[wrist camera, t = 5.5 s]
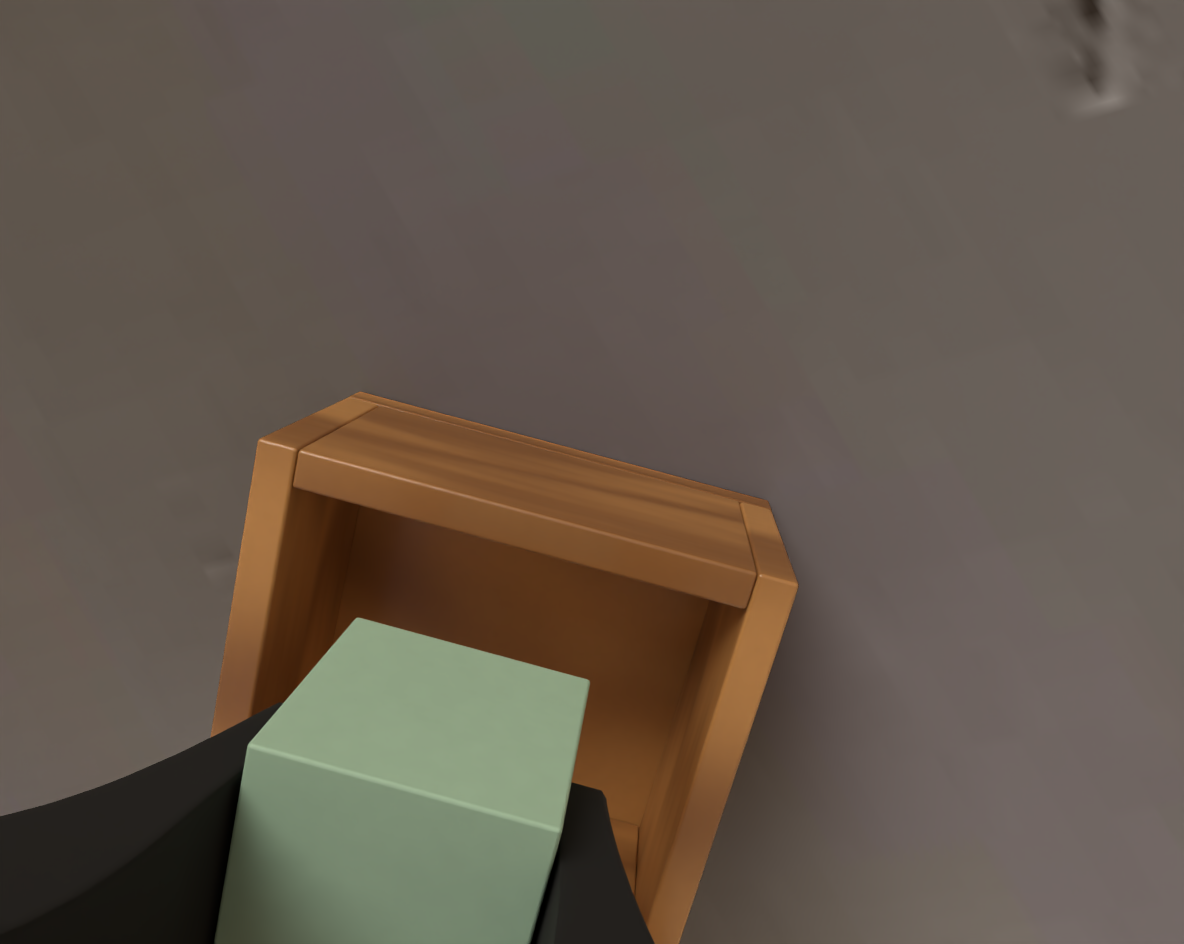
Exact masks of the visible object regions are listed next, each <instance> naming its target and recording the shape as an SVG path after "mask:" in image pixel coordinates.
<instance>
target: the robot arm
mask: <svg viewBox="0 0 1184 944" xmlns="http://www.w3.org/2000/svg"><path fill="white" fill-rule="evenodd" d="M282 704H283V703H281V702H279V703H277V704H275V705H273V706H271V707H269V708H267V709H265V710H263V711H261V712H259V713H257V714H255V715H253V716H251V717H249V718H248V719H246V720H244V721H242V722H240V723H238V724H236V725H234V726H232V727H230V728H228V729H226V730H224V731H223V732H221V733H219V734H217V735H215V736H213V737H211V738H209V739H207V740H205V741H203V742H201V743H199V744H197V745H195V746H193V747H191V748H189V749H187V750H185V751H183V752H181V753H178V754H176V755H174V756H172V757H169V758H167V759H165V760H162V761H160V762H158V763H156V764H153V765H151V766H149V767H146V768H144V769H142V770H140V771H137V772H135V773H133V774H131V775H128V776H126V777H124V778H121V779H118V780H116V781H113V782H111V783H108V784H105V785H103V786H100V787H97V788H95V789H92V790H89V791H86V792H83V793H80V794H77V795H74V796H71V797H68V798H65V799H62V800H59V801H56V802H53V803H49V804H46V805H42V806H39V807H35V808H31V809H27V810H23V811H20V812H16V813H12V814H8V815H5V816H1V817H0V944H214V939H215V933H216V927H217V921H218V915H219V909H220V904H221V898H222V892H223V886H224V880H225V874H226V869H227V863H228V857H229V851H230V845H231V839H232V833H233V828H234V822H235V816H236V810H237V804H238V798H239V793H240V787H241V781H242V775H243V769H244V763H245V757H246V752H247V746H248V744H249V743H250V742H251V741H252V739H253V738H254V737H255V736H256V735H257V733H258V732H259V731H260V730H261V729H262V728H263V726H264V725H265V724H266V723H267V722H268V721H269V719H270V718H271V717H272V716H273V715H274V714H275V712H276V711H277V710H278V709H279V708H280V707H281V705H282ZM531 944H655V943H654V941H653V938H652V936H651V934H650V932H649V930H648V928H647V925H646V923H645V921H644V919H643V916H642V914H641V912H640V909H639V907H638V905H637V902H636V899H635V897H634V894H633V892H632V889H631V886H630V884H629V881H628V878H627V875H626V872H625V869H624V867H623V864H622V861H621V858H620V854H619V851H618V848H617V844H616V841H615V837H614V834H613V830H612V826H611V822H610V817H609V812H608V807H607V799H606V797H605V795H604V794H603V792H602V790H598V789H594V788H591V787H587V786H584V785H580V784H576V783H573V782H571V787H570V793H569V798H568V803H567V809H566V814H565V819H564V825H563V830H562V834H561V838H560V841H559V845H558V848H557V852H556V856H555V859H554V863H553V866H552V870H551V873H550V877H549V880H548V884H547V888H546V891H545V895H544V898H543V902H542V905H541V909H540V912H539V916H538V920H537V923H536V927H535V930H534V934H533V937H532V941H531Z"/></svg>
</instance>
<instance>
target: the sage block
mask: <svg viewBox="0 0 1184 944" xmlns="http://www.w3.org/2000/svg"><path fill="white" fill-rule="evenodd" d="M589 687H590V681H589V680H587V679H584V678H580V677H576V676H573V675H569V674H565V673H562V672H558V671H554V670H551V669H547V668H543V667H540V666H536V665H532V664H529V663H525V662H521V661H517V660H514V659H510V658H506V657H503V656H499V655H495V654H492V653H488V652H484V651H481V650H477V649H473V648H470V647H466V646H462V645H458V644H455V643H451V642H447V641H444V640H440V639H436V638H433V637H429V636H425V635H422V634H418V633H414V632H411V631H407V630H403V629H399V628H396V627H392V626H388V625H385V624H381V623H377V622H374V621H370V620H366V619H363V618H356V619H355V620H354V621H353V622H352V623H351V625H350V626H349V627H348V628H347V629H346V630H345V632H344V633H343V634H342V635H341V636H340V637H339V639H338V640H337V641H336V642H335V643H334V644H333V646H332V647H331V648H330V649H329V650H328V651H327V653H326V654H325V655H324V656H323V657H322V658H321V660H320V661H319V662H318V663H317V664H316V666H315V667H314V668H313V669H312V670H311V671H310V673H309V674H308V675H307V676H306V677H305V678H304V680H303V681H302V682H301V683H300V684H299V685H298V687H297V688H296V689H295V690H294V691H293V692H292V694H291V695H290V696H289V697H288V698H287V700H286V701H285V702H284V703H283V704H282V705H281V707H280V708H279V709H278V710H277V711H276V712H275V714H274V715H273V716H272V717H271V718H270V719H269V721H268V722H267V723H266V724H265V725H264V726H263V728H262V729H261V730H260V731H259V732H258V733H257V735H256V736H255V737H254V738H253V739H252V741H251V742H250V743H249V744H248V746H247V752H246V757H245V763H244V769H243V775H242V781H241V787H240V793H239V798H238V804H237V810H236V816H235V822H234V828H233V833H232V839H231V845H230V851H229V857H228V863H227V869H226V874H225V880H224V886H223V892H222V898H221V904H220V909H219V915H218V921H217V927H216V933H215V939H214V944H531V941H532V937H533V934H534V930H535V927H536V923H537V920H538V916H539V912H540V909H541V905H542V902H543V898H544V895H545V891H546V888H547V884H548V880H549V877H550V873H551V870H552V866H553V863H554V859H555V856H556V852H557V848H558V845H559V841H560V838H561V834H562V830H563V825H564V819H565V814H566V809H567V803H568V798H569V793H570V787H571V782H572V777H573V772H574V766H575V761H576V756H577V750H578V745H579V740H580V734H581V729H582V724H583V719H584V713H585V708H586V703H587V697H588V692H589Z"/></svg>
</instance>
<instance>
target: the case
mask: <svg viewBox="0 0 1184 944" xmlns="http://www.w3.org/2000/svg"><path fill="white" fill-rule="evenodd" d="M798 587H799V586H798V582H797V579H796V576H795V574H794V571H793V568H792V566H791V563H790V560H789V557H788V555H787V552H786V549H785V547H784V544H783V541H782V538H781V536H780V533H779V530H778V528H777V525H776V522H775V520H774V517H773V514H772V511H771V507H770V505H769V502H768V501H767V500H763V499H760V498H756V497H752V496H748V495H745V494H741V493H737V492H733V491H730V490H726V489H722V488H718V487H715V486H711V485H707V484H703V483H700V482H696V481H692V480H689V479H685V478H681V477H677V476H674V475H670V474H666V473H662V472H659V471H655V470H651V469H647V468H644V467H640V466H636V465H633V464H629V463H625V462H621V461H618V460H614V459H610V458H606V457H603V456H599V455H595V454H591V453H588V452H584V451H580V450H576V449H573V448H569V447H565V446H562V445H558V444H554V443H550V442H547V441H543V440H539V439H535V438H532V437H528V436H524V435H520V434H517V433H513V432H509V431H506V430H502V429H498V428H494V427H491V426H487V425H483V424H479V423H476V422H472V421H468V420H464V419H461V418H457V417H453V416H450V415H446V414H442V413H438V412H435V411H431V410H427V409H423V408H420V407H416V406H412V405H408V404H405V403H401V402H397V401H393V400H390V399H386V398H382V397H379V396H375V395H371V394H367V393H364V392H358V393H356V394H354V395H351V396H350V397H349V398H346V399H344V400H342V401H340V402H337V403H335V404H333V405H331V406H329V407H327V408H325V409H322V410H320V411H318V412H316V413H314V414H312V415H309V416H307V417H305V418H303V419H301V420H299V421H297V422H294V423H292V424H290V425H288V426H286V427H284V428H282V429H279V430H277V431H275V432H273V433H271V434H269V435H266V436H264V437H262V438H260V439H259V440H258V445H257V451H256V457H255V463H254V469H253V476H252V482H251V488H250V494H249V501H248V507H247V513H246V519H245V526H244V532H243V538H242V544H241V551H240V557H239V563H238V569H237V576H236V582H235V588H234V594H233V601H232V607H231V613H230V619H229V626H228V632H227V638H226V644H225V650H224V657H223V663H222V669H221V675H220V682H219V688H218V694H217V700H216V707H215V713H214V719H213V725H212V732H211V737H213V736H215V735H217V734H219V733H221V732H223V731H224V730H226V729H228V728H230V727H232V726H234V725H236V724H238V723H240V722H242V721H244V720H246V719H248V718H249V717H251V716H253V715H255V714H257V713H259V712H261V711H263V710H265V709H267V708H269V707H271V706H273V705H275V704H277V703H279V702H281V703H284V702H285V701H286V700H287V698H288V697H289V696H290V695H291V694H292V692H293V691H294V690H295V689H296V688H297V687H298V685H299V684H300V683H301V682H302V681H303V680H304V678H305V677H306V676H307V675H308V674H309V673H310V671H311V670H312V669H313V668H314V667H315V666H316V664H317V663H318V662H319V661H320V660H321V658H322V657H323V656H324V655H325V654H326V653H327V651H328V650H329V649H330V648H331V647H332V646H333V644H334V643H335V642H336V641H337V640H338V639H339V637H340V636H341V635H342V634H343V633H344V632H345V630H346V629H347V628H348V627H349V626H350V625H351V623H352V622H353V621H354V620H355V619H356V618H363V619H366V620H370V621H374V622H377V623H381V624H385V625H388V626H392V627H396V628H399V629H403V630H407V631H411V632H414V633H418V634H422V635H425V636H429V637H433V638H436V639H440V640H444V641H447V642H451V643H455V644H458V645H462V646H466V647H470V648H473V649H477V650H481V651H484V652H488V653H492V654H495V655H499V656H503V657H506V658H510V659H514V660H517V661H521V662H525V663H529V664H532V665H536V666H540V667H543V668H547V669H551V670H554V671H558V672H562V673H565V674H569V675H573V676H576V677H580V678H584V679H587V680H589V681H590V687H589V692H588V697H587V703H586V708H585V713H584V719H583V724H582V729H581V734H580V740H579V745H578V750H577V756H576V761H575V766H574V772H573V777H572V782H573V783H576V784H580V785H584V786H587V787H591V788H594V789H598V790H602V792H603V794H604V795H605V797H606V799H607V807H608V812H609V817H610V822H611V826H612V830H613V834H614V837H615V841H616V844H617V848H618V851H619V854H620V858H621V861H622V864H623V867H624V869H625V872H626V875H627V878H628V881H629V884H630V886H631V889H632V892H633V894H634V897H635V899H636V902H637V905H638V907H639V909H640V912H641V914H642V916H643V919H644V921H645V923H646V925H647V928H648V930H649V932H650V934H651V936H652V938H653V941H654V943H655V944H679V942H680V939H681V936H682V933H683V930H684V927H685V924H686V921H687V918H688V915H689V912H690V909H691V906H692V903H693V900H694V897H695V894H696V891H697V888H698V885H699V882H700V879H701V876H702V873H703V870H704V867H705V864H706V861H707V859H708V856H709V853H710V850H711V847H712V844H713V841H714V838H715V835H716V832H717V829H718V826H719V823H720V820H721V817H722V814H723V811H724V808H725V805H726V802H727V799H728V796H729V793H730V790H731V787H732V784H733V781H734V778H735V775H736V772H737V769H738V766H739V763H740V760H741V757H742V754H743V751H744V748H745V745H746V742H747V739H748V736H749V733H750V730H751V727H752V724H753V721H754V718H755V715H756V712H757V709H758V706H759V703H760V700H761V698H762V695H763V692H764V689H765V686H766V683H767V680H768V677H769V674H770V671H771V668H772V665H773V662H774V659H775V656H776V653H777V650H778V647H779V644H780V641H781V638H782V635H783V632H784V629H785V626H786V623H787V620H788V617H789V614H790V611H791V608H792V605H793V602H794V599H795V596H796V593H797V590H798Z"/></svg>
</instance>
